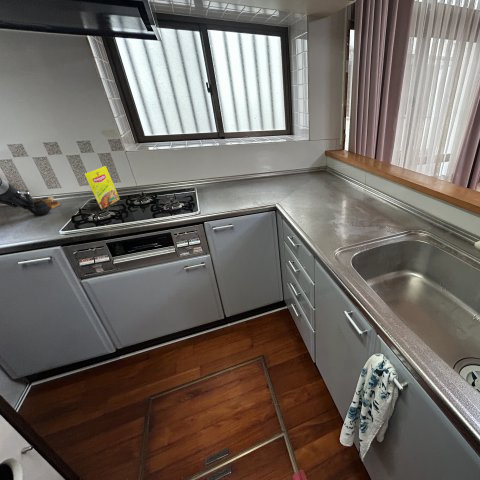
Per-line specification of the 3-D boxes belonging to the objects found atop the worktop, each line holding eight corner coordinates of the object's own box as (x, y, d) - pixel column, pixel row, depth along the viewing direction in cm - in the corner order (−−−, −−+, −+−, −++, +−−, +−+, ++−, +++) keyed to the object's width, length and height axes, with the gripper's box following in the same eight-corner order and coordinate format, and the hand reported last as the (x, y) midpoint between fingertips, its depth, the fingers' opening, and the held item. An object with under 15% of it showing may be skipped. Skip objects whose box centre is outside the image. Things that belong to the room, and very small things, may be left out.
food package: (102, 209, 146) (85, 173, 136) (100, 209, 146) (83, 173, 136) (120, 199, 159) (106, 165, 149) (118, 199, 159) (104, 165, 149)
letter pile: (33, 210, 146) (28, 201, 143) (48, 204, 154) (42, 195, 151) (51, 210, 146) (45, 201, 143) (64, 203, 154) (59, 195, 151)
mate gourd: (51, 210, 146) (41, 193, 141) (52, 214, 142) (42, 196, 137) (33, 214, 142) (22, 196, 137) (34, 218, 137) (23, 200, 132)
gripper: (-23, 198, 111) (17, 219, 132) (19, 192, 116) (51, 213, 137) (-24, 182, 112) (16, 205, 133) (17, 177, 117) (49, 200, 138)
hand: (34, 209), depth 135 cm, fingers closed
